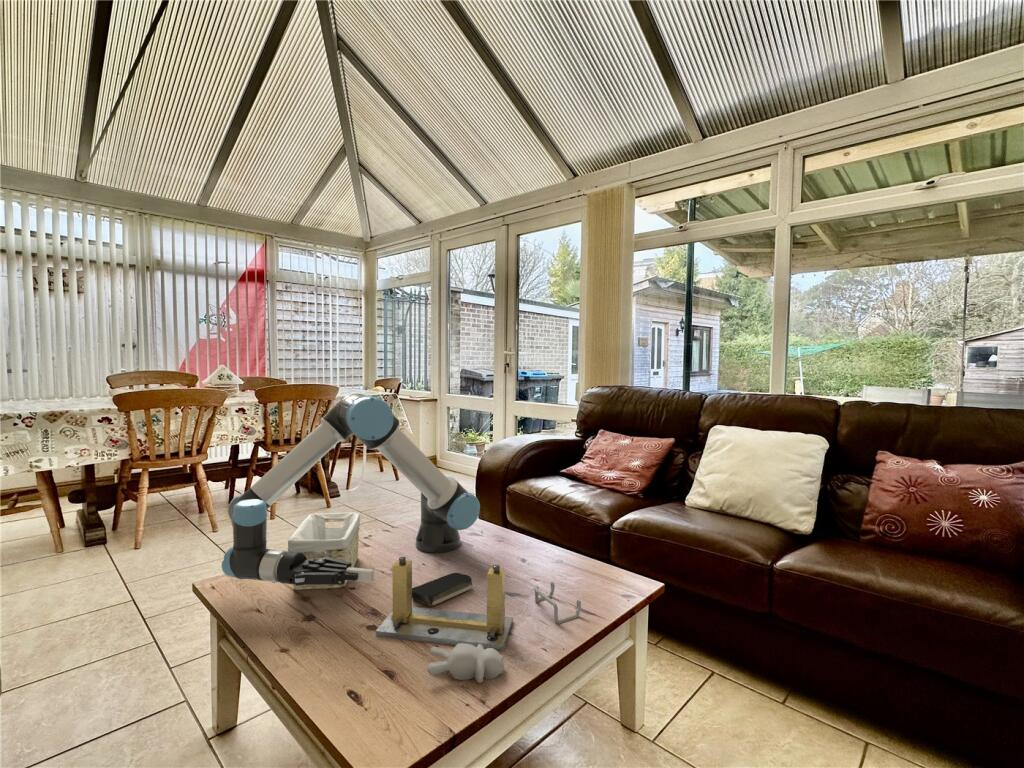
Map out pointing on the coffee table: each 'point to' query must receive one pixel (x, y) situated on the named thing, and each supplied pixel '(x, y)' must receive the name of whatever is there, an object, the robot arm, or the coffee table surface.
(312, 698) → the coffee table surface
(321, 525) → the storage basket
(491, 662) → the bunny figurine
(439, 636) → the steel plate
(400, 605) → the sliding leg
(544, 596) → the bracket
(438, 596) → the black sponge
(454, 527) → the robot arm
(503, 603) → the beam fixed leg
